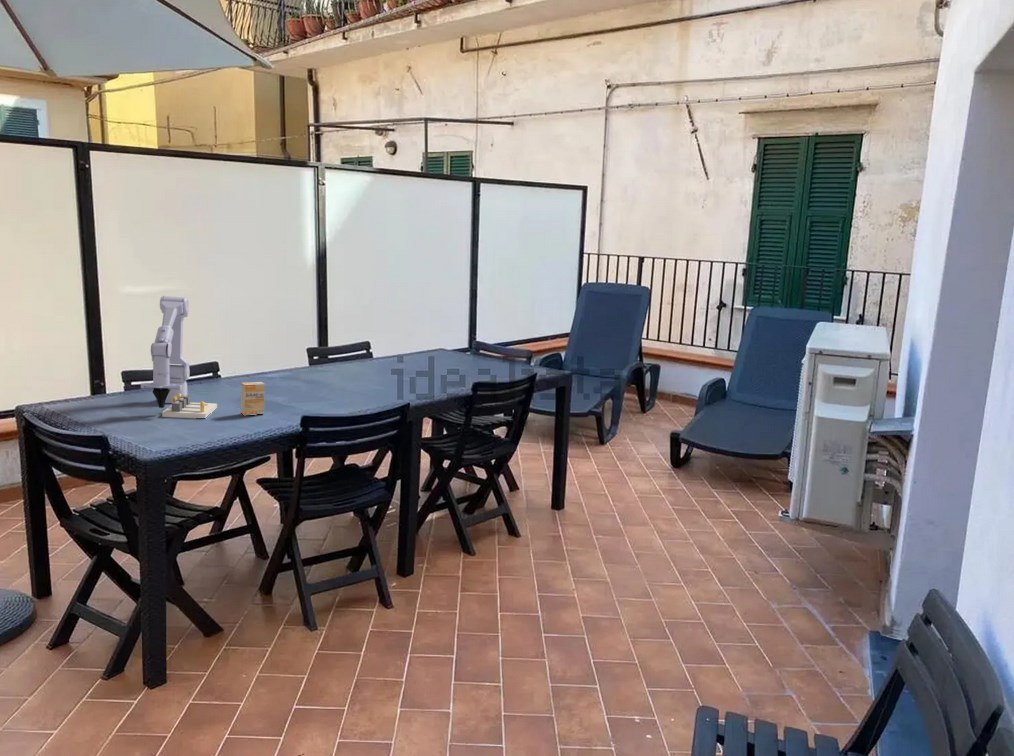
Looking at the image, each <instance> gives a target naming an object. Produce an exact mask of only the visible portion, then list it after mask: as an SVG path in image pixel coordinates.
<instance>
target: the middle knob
mask: <svg viewBox="0 0 1014 756" xmlns="http://www.w3.org/2000/svg"><path fill="white" fill-rule="evenodd" d="M176 401H179V402H182V408H185V407H186V399H183V398H180V399H177V400H176Z"/></svg>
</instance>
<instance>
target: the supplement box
mask: <svg viewBox="0 0 1014 756" xmlns="http://www.w3.org/2000/svg"><path fill="white" fill-rule="evenodd" d="M265 385H266V383H264V382H262V381H257V382H256V381H254V382H253V381H252V382H250V381H249V382H241V383H240V413H239V414H241V413H242V414H243V415H250V414H259V413H264V414H265V394H266V393H265V390H266V387H265ZM242 414H241V415H242ZM243 415H242V416H243Z"/></svg>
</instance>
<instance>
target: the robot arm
mask: <svg viewBox="0 0 1014 756" xmlns="http://www.w3.org/2000/svg"><path fill="white" fill-rule="evenodd" d="M189 304H190V303H189V299H188V298H187V297H186V296H167V295H162V296H161V297H160V298H159V308H160V310H161V313H162V314H163V315H162V322H161V326H159V327H158V329H157V331H156V335H155V339H154V342H153V343H151V344H150V356H151V362H152V373H153V374H152V376H153V377H152V378H153V379H152V382H141V383H140V389H141V390H142V389H150V390H151V389H153V390H152V394H153V396H154V397H155V399H156V401H157V405H158V408H159V409H164V408H165V404H172V403H173V397H177V394H181V396H183V395H188V383H187V380H189V379H190V373H191V372H190V371H191V370H190V362H189V361H188V360H187V359H185V358H184V357H183V331H184V330H183V329H184V327H183V326H184V320H185V318H187V317H188V316H189Z"/></svg>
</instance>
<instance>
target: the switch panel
mask: <svg viewBox="0 0 1014 756" xmlns="http://www.w3.org/2000/svg"><path fill="white" fill-rule="evenodd" d="M180 397H181V394H177V397H173V402H176V400H177V399H180ZM216 408H217V409H218V403H209V402H205V401H199V402H191V401H190V404H188V405H186V407H185V408H182V410H181V411H172V404H171V405H170V406H168V407H166V409H164V410H163V411H162V412H161V417H162V418H174V419H175V418H177V419H196V418H206V417H207V416H208V415H209V414H210V413H211V414H213V413H214V412H215V411H216V410H217V409H216ZM215 409H216V410H215ZM214 410H215V411H214ZM213 411H214V412H213ZM212 412H213V413H212ZM211 414H210V415H211ZM210 415H209V416H210ZM209 416H208V417H209ZM208 417H207V418H208ZM207 418H206V419H207Z"/></svg>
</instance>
